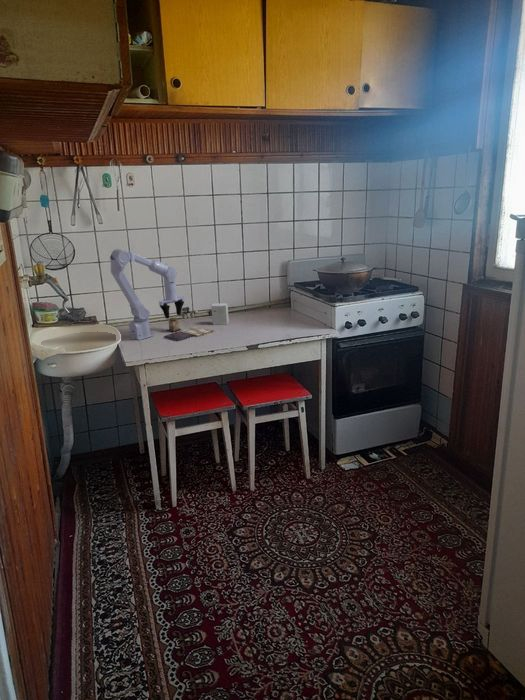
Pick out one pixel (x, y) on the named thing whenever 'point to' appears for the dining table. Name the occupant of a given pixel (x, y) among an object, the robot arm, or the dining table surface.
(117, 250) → the robot arm
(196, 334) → the board
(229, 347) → the dining table surface
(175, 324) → the stamp
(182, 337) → the ink pad
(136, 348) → the dining table surface
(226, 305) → the small box
